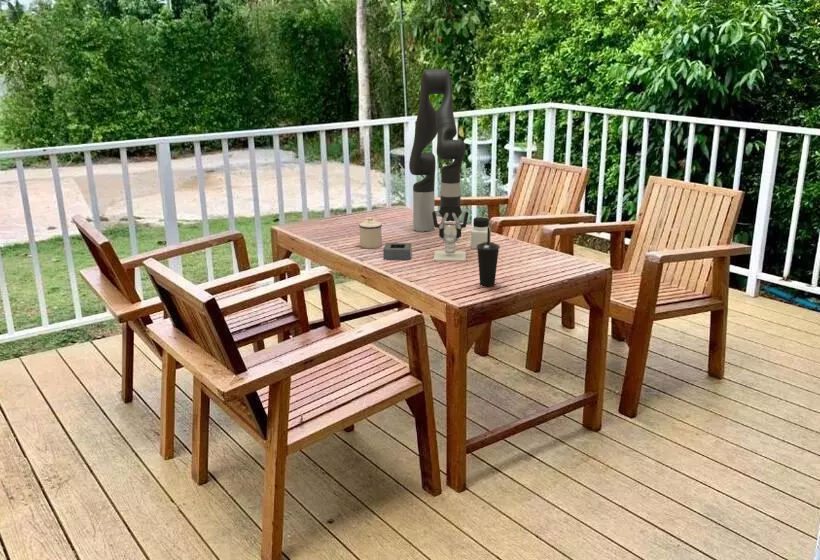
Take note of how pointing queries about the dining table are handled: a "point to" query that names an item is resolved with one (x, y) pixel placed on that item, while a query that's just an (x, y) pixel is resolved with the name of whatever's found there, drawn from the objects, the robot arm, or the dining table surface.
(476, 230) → the medicine bottle
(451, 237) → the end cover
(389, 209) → the dining table surface
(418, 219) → the robot arm
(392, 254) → the housing
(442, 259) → the pad
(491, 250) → the drinking cup
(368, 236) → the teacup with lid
